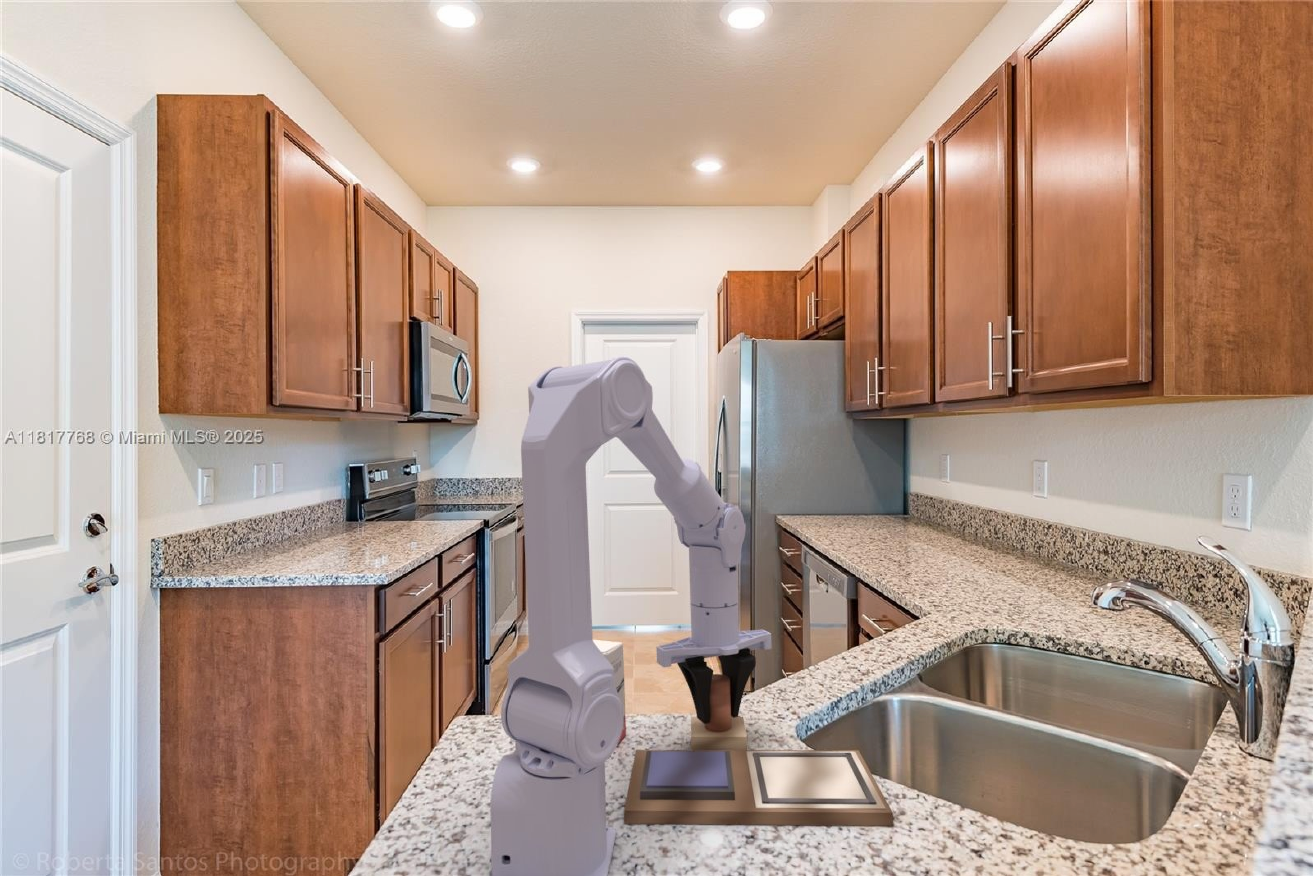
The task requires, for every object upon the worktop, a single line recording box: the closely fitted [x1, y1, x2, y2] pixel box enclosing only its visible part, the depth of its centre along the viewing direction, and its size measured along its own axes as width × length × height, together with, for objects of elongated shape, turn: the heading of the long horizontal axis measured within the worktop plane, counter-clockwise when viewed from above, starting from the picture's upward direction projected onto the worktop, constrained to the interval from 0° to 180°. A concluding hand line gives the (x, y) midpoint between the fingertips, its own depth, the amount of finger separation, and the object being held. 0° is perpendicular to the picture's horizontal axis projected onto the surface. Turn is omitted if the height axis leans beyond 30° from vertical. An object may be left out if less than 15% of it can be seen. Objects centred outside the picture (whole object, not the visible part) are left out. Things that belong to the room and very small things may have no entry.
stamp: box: [690, 673, 748, 750], centre depth 73 cm, size 6×5×8 cm
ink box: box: [593, 639, 627, 744], centre depth 76 cm, size 8×5×12 cm, turn 66°
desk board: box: [623, 749, 894, 827], centre depth 64 cm, size 25×12×2 cm, turn 87°
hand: (717, 717), depth 73 cm, fingers closed on stamp, 3 cm apart
